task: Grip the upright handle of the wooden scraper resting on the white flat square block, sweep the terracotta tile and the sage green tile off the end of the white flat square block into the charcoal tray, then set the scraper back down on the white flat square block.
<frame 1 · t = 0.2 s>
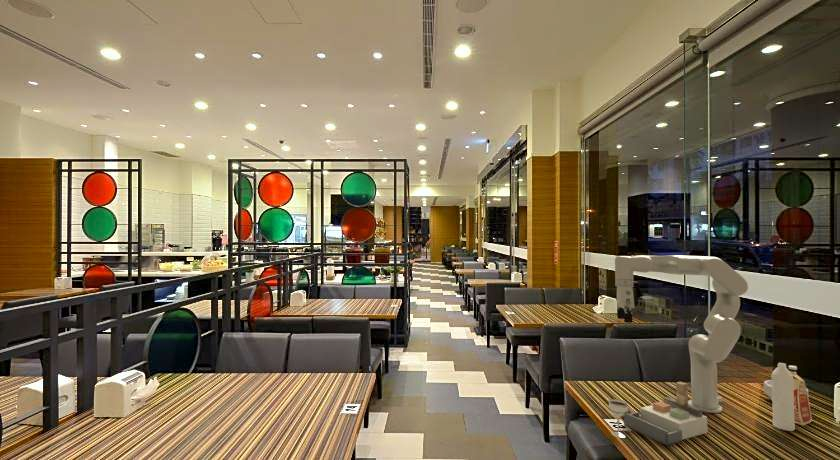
hand: (624, 320, 188), 37 cm above the table, tool pointing down, fingers open, 9 cm apart
scraper: (682, 409, 163), point 6 cm above the table, touching white flat square block
wineglass: (618, 435, 155), on the table
terracotta tile: (661, 409, 164), point 6 cm above the table, touching white flat square block
water bottle: (786, 429, 160), on the table
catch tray: (651, 433, 156), on the table
white flat square block: (673, 427, 161), on the table
paper bowls: (785, 403, 187), on the table
milk carton: (793, 419, 170), on the table
green tile: (679, 416, 157), point 6 cm above the table, touching white flat square block
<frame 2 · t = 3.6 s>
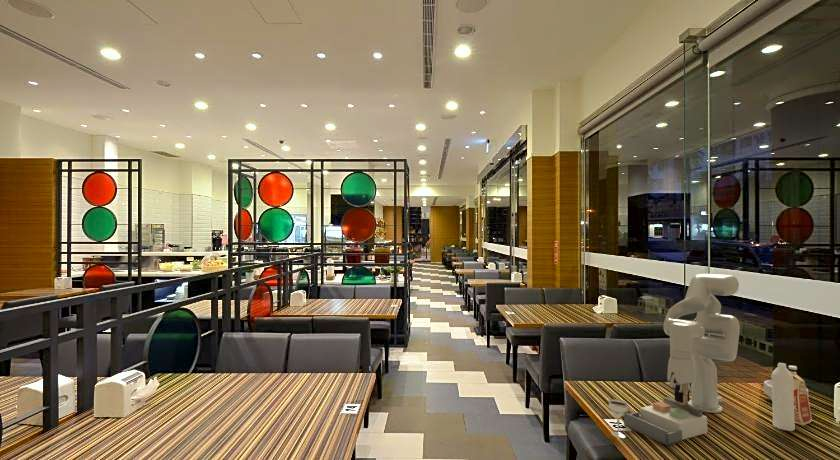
hand: (682, 400, 163), 10 cm above the table, tool pointing down, fingers closed on scraper, 2 cm apart
scraper: (682, 409, 163), point 6 cm above the table, touching gripper
everything else where it was.
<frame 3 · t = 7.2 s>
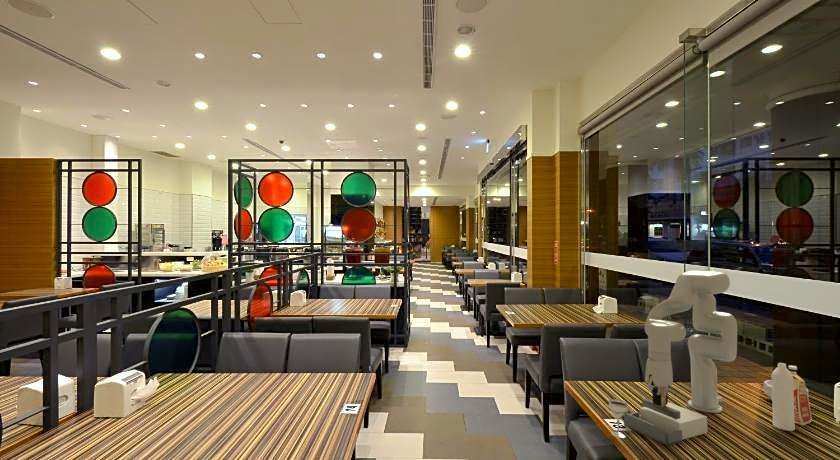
hand: (660, 403, 158), 10 cm above the table, tool pointing down, fingers closed on scraper, 2 cm apart
scraper: (660, 411, 158), point 7 cm above the table, touching gripper
terracotta tile: (641, 422, 159), point 3 cm above the table, tilted 180°, touching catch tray
green tile: (658, 430, 153), point 3 cm above the table, tilted 180°, touching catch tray
everything else where it was.
when the fingers open (10 cm above the table, at t = 9.6 s): scraper stays where it is, resting on white flat square block.
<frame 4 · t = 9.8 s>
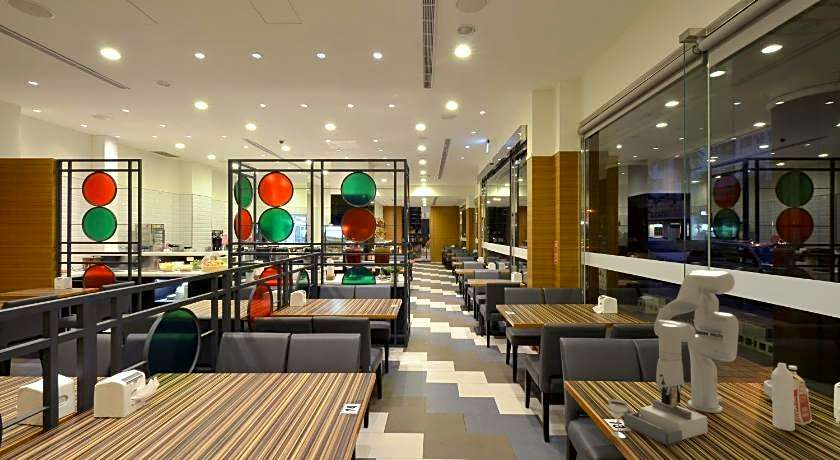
hand: (671, 402, 161), 10 cm above the table, tool pointing down, fingers open, 4 cm apart
scraper: (671, 412, 161), point 6 cm above the table, touching white flat square block
everything else where it was.
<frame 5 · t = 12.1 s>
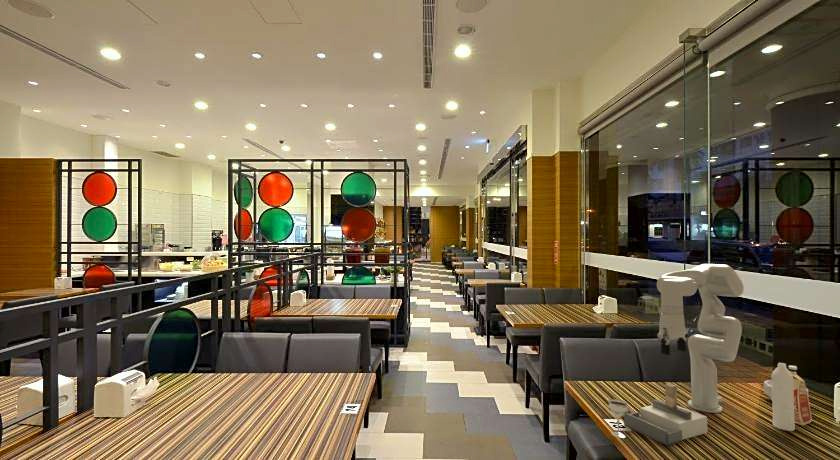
hand: (673, 352, 166), 28 cm above the table, tool pointing down, fingers open, 9 cm apart
nothing on the table moved.
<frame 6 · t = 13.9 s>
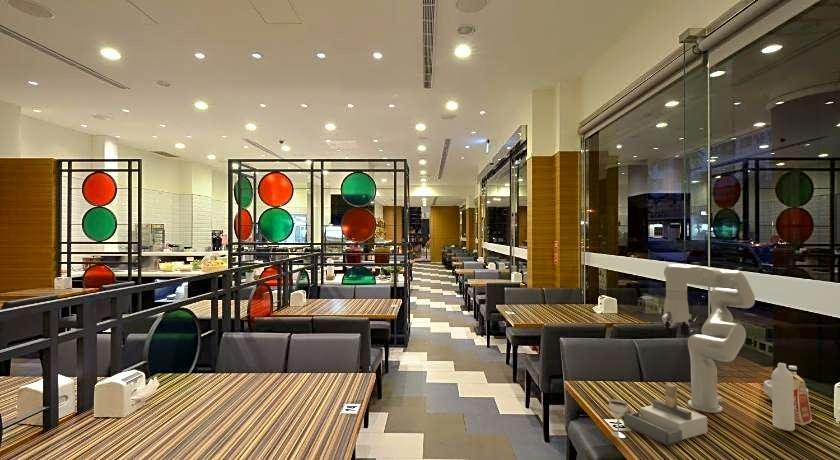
hand: (677, 336, 172), 33 cm above the table, tool pointing down, fingers open, 9 cm apart
nothing on the table moved.
at the end: terracotta tile inside the target area (3.9 cm from its centre), point 2.6 cm above the table; green tile inside the target area (3.5 cm from its centre), point 2.6 cm above the table; scraper inside the target area (0.9 cm from its centre), point 6.0 cm above the table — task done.
